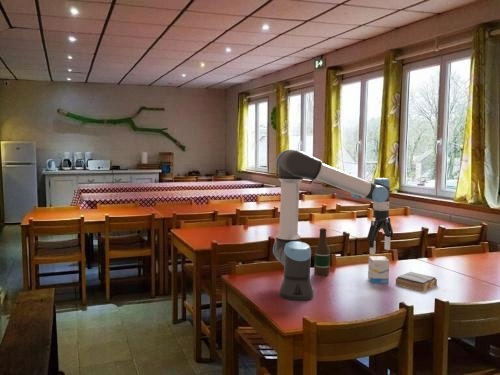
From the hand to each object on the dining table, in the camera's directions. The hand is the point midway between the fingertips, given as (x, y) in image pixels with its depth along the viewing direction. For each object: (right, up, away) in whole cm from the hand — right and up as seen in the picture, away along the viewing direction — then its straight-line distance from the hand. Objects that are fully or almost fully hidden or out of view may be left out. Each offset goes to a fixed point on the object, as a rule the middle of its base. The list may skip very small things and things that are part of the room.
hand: (379, 251), depth 232 cm
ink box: (0, -15, +1) cm, 15 cm away
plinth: (+16, -16, -5) cm, 23 cm away
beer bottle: (-27, -13, +12) cm, 33 cm away
